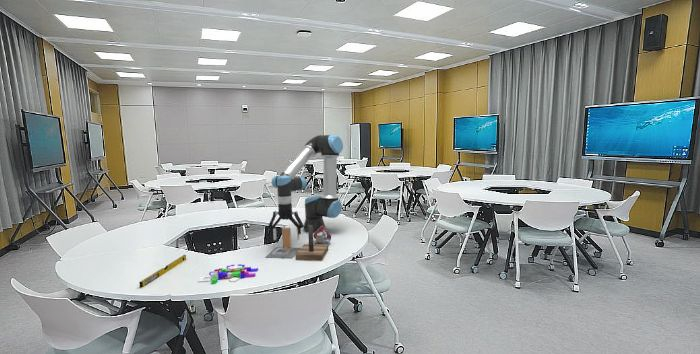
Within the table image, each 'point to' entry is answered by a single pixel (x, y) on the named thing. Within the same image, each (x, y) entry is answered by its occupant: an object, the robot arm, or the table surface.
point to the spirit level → (162, 271)
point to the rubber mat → (283, 252)
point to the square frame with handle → (284, 244)
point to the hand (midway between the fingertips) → (286, 239)
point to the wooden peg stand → (311, 249)
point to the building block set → (230, 273)
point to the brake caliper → (321, 236)
